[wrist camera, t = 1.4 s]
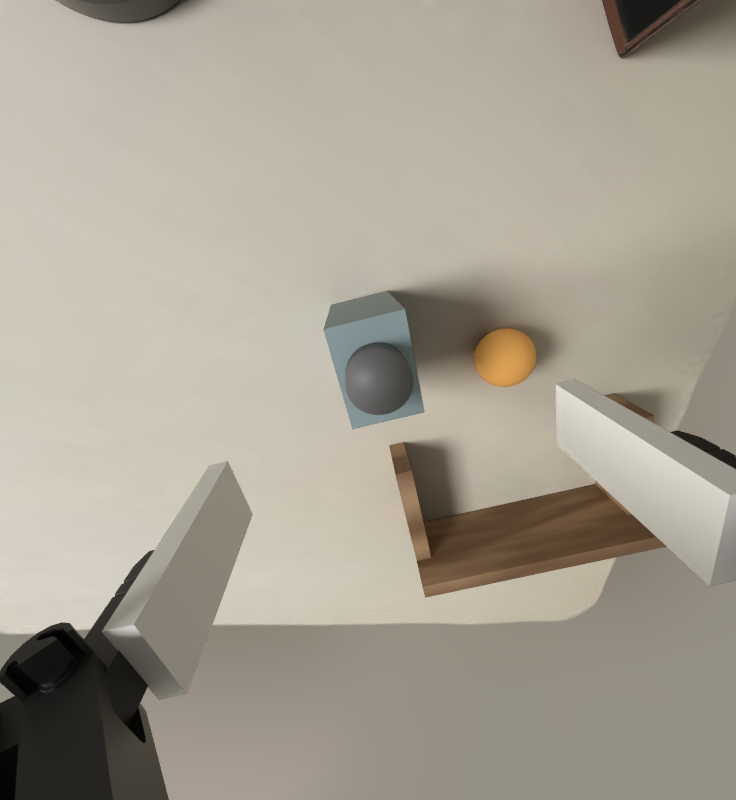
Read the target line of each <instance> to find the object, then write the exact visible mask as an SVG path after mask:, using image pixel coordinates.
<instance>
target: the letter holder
mask: <svg viewBox="0 0 736 800" xmlns="http://www.w3.org/2000/svg"><path fill="white" fill-rule="evenodd" d="M602 1H603V5H604V9H605V12H606V16H607V20H608V23H609V26H610V30H611V33H612V37H613V40H614V43H615V46H616V49H617V52H618V55H619V56H620V57H621V58H623V57H625V56H627V55H629V54H630V53H632V52H633V51H634V50H636V49H637V48H638V47H639V46H641V45H642V44H643V43H644V42H646V41H647V40H649V39H650V38H651V37H652V36H654V35H655V34H656V33H658V32H659V31H660V30H662V29H663V28H665V27H666V26H667V25H669V24H670V23H671V22H673V21H674V20H675V19H677V18H678V17H679V16H681V15H682V14H683V13H685V12H686V11H687V10H689V9H690V8H692V7H693V6H694V5H696V4H697V3H699V2H700V1H701V0H602Z"/></svg>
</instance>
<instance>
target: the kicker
mask: <svg viewBox="0 0 736 800" xmlns="http://www.w3.org/2000/svg"><path fill="white" fill-rule="evenodd" d="M324 332H325V336H326V339H327V343H328V346H329V349H330V353H331V356H332V360H333V363H334V367H335V370H336V374H337V377H338V381H339V384H340V387H341V391H342V394H343V398H344V401H345V405H346V408H347V412H348V415H349V419H350V422H351V426H352V429H356V428H360V427H364V426H368V425H373V424H377V423H381V422H385V421H390V420H394V419H398V418H402V417H407V416H411V415H415V414H419V413H423V412H424V407H423V401H422V396H421V391H420V385H419V380H418V375H417V370H416V364H415V359H414V354H413V349H412V343H411V338H410V333H409V327H408V322H407V317H406V312H405V309H404V308H403V306H402V305H401V304H400V303H399V302H398V301H397V300H396V299H395V298H394V297H393V296H392V295H391V294H390V293H389V292H388V291H385V292H381V293H377V294H373V295H369V296H365V297H361V298H357V299H353V300H349V301H345V302H341V303H337V304H333V305H331V307H330V310H329V314H328V317H327V320H326V323H325V327H324Z"/></svg>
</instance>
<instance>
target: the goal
mask: <svg viewBox="0 0 736 800" xmlns="http://www.w3.org/2000/svg"><path fill="white" fill-rule="evenodd" d="M606 397H608V398H610V399H611V400H613V401H615V402H617V403H618V404H620V405H622V406H624V407H626V408H627V409H629V410H631V411H633V412H634V413H636V414H638V415H640V416H642V417H643V418H645V419H647V420H649V421H651V422H652V423H653V418H654V415H652V414H650V413H648V412H646V411H644V410H643V409H641V408H639V407H637V406H635V405H633V404H632V403H630V402H628V401H626V400H624V399H622V398H621V397H619V396H617V395H615V394H610V395H606ZM390 451H391V455H392V460H393V465H394V469H395V474H396V478H397V482H398V486H399V490H400V494H401V499H402V503H403V507H404V511H405V515H406V519H407V523H408V527H409V531H410V535H411V539H412V543H413V547H414V551H415V555H416V559H417V564H418V568H419V573H420V577H421V582H422V586H423V590H424V594H425V597H430V596H435V595H439V594H444V593H449V592H454V591H458V590H463V589H468V588H473V587H477V586H482V585H487V584H491V583H496V582H501V581H506V580H510V579H515V578H520V577H525V576H529V575H534V574H539V573H544V572H548V571H553V570H558V569H562V568H567V567H572V566H577V565H581V564H586V563H591V562H596V561H600V560H605V559H610V558H615V557H619V556H624V555H629V554H633V553H638V552H643V551H648V550H652V549H657V548H662V547H667V546H666V545H665V544H664V543H663V542H661V541H660V540H659V539H658V538H657V537H656V536H655V535H654V534H653V533H652V532H651V531H650V530H649V529H647V528H646V527H645V526H644V525H643V524H642V523H641V522H640V521H639V520H638V519H637V518H636V517H634V516H633V515H632V514H631V513H630V512H629V511H628V510H627V509H626V508H625V507H624V506H623V505H621V504H620V503H619V502H618V501H617V500H616V499H615V498H614V497H613V496H612V495H611V494H610V493H609V492H607V491H606V490H605V489H604V488H603V487H602V486H601V485H600V484H599V483H598V482H597V481H596V484H595V485H590V486H585V487H581V488H576V489H572V490H567V491H563V492H558V493H554V494H549V495H545V496H540V497H536V498H531V499H527V500H522V501H518V502H513V503H509V504H504V505H499V506H495V507H490V508H486V509H481V510H477V511H472V512H468V513H463V514H459V515H454V516H450V517H445V518H441V519H436V520H432V521H427V522H423V518H422V514H421V509H420V505H419V500H418V496H417V491H416V487H415V482H414V478H413V474H412V469H411V466H410V462H409V459H408V456H407V452H406V449H405V445H404V442H403V443H399V444H395V445H390Z"/></svg>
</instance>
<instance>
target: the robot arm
mask: <svg viewBox="0 0 736 800" xmlns="http://www.w3.org/2000/svg"><path fill="white" fill-rule="evenodd" d="M56 1H58V2H59V3H61V4H62V5H64V6H66V7H68V8H70V9H72V10H74V11H76V12H79V13H81V14H83V15H86V16H89V17H92V18H96V19H100V20H104V21H111V22H134V21H140V20H145V19H148V18H151V17H154V16H156V15H159V14H161V13H163V12H164V11H166V10H168V9H169V8H171V7H172V6H173V5H175V4H176V3H177V2H179V1H180V0H56ZM556 428H557V445H558V446H559V447H560V448H561V449H562V450H563V451H564V452H565V453H566V454H567V455H568V456H570V457H571V458H572V459H573V460H574V461H575V462H576V463H577V464H578V465H579V466H580V467H581V468H583V469H584V470H585V471H586V472H587V473H588V474H589V475H590V476H591V477H592V478H593V479H594V480H596V481H597V482H598V483H599V484H600V485H601V486H602V487H603V488H604V489H605V490H606V491H607V492H609V493H610V494H611V495H612V496H613V497H614V498H615V499H616V500H617V501H618V502H619V503H620V504H621V505H623V506H624V507H625V508H626V509H627V510H628V511H629V512H630V513H631V514H632V515H633V516H634V517H636V518H637V519H638V520H639V521H640V522H641V523H642V524H643V525H644V526H645V527H646V528H647V529H649V530H650V531H651V532H652V533H653V534H654V535H655V536H656V537H657V538H658V539H659V540H660V541H661V542H663V543H664V544H665V545H666V546H667V547H668V548H669V549H670V550H671V551H672V552H674V553H675V554H676V555H677V556H678V557H679V558H680V559H681V560H682V561H683V562H684V563H685V564H686V565H688V566H689V567H690V568H691V569H692V570H693V571H694V572H695V573H696V574H697V575H698V576H699V577H700V578H702V579H703V580H704V581H705V582H706V583H707V584H708V585H709V586H713V585H718V584H723V583H727V582H733V581H736V457H735V455H733V454H731V453H730V452H728V451H726V450H724V449H722V450H721V449H720V448H719V447H718V446H716V445H714V444H713V443H711V442H709V441H707V440H705V439H703V438H701V437H698V436H695V435H691V434H688V433H685V432H681V431H673V432H668V431H667V430H665V429H663V428H661V427H659V426H658V425H656V424H654V423H652V422H651V421H649V420H647V419H645V418H643V417H642V416H640V415H638V414H636V413H634V412H633V411H631V410H629V409H627V408H626V407H624V406H622V405H620V404H618V403H617V402H615V401H613V400H611V399H610V398H608V397H606V396H604V395H602V394H601V393H599V392H597V391H595V390H594V389H592V388H590V387H588V386H586V385H585V384H583V383H581V382H579V381H577V380H576V379H575V380H571V381H566V382H562V383H558V384H556ZM251 517H252V512H251V510H250V507H249V505H248V503H247V501H246V499H245V497H244V495H243V493H242V491H241V488H240V486H239V484H238V482H237V480H236V478H235V476H234V474H233V471H232V469H231V467H230V465H229V463H228V461H227V462H223V463H218V464H214V465H210V466H209V467H208V469H207V470H206V472H205V473H204V475H203V476H202V478H201V479H200V481H199V482H198V484H197V486H196V487H195V489H194V490H193V492H192V493H191V495H190V496H189V498H188V499H187V501H186V502H185V504H184V506H183V507H182V509H181V510H180V512H179V513H178V515H177V516H176V518H175V519H174V521H173V523H172V524H171V526H170V527H169V529H168V530H167V532H166V533H165V535H164V536H163V538H162V539H161V541H160V543H159V544H158V546H157V547H156V549H155V550H152V551H149V552H148V553H147V554H146V555H145V556H144V557H143V558H142V559H141V560H140V561H139V562H138V563H137V564H136V565H135V566H134V567H133V568H132V570H131V571H130V573H129V574H128V576H127V577H126V579H125V580H124V584H121V586H120V587H119V589H118V590H117V592H116V593H115V597H113V598H112V599H111V601H110V602H109V604H108V605H107V606H106V608H105V609H104V611H103V612H102V614H101V615H100V617H99V618H98V620H97V621H96V623H95V624H94V626H93V627H92V628H91V630H90V631H89V633H88V634H87V636H86V637H85V639H83V638H82V637H81V636H80V635H79V633H78V632H77V631H76V630H75V629H74V628H73V626H72V625H71V624H70V623H59V624H55V625H52V626H50V627H48V628H46V629H44V630H43V631H41V632H39V633H37V634H36V635H35V636H33V637H32V638H30V639H29V640H28V641H26V642H25V643H24V644H23V645H22V646H21V647H20V648H19V649H18V650H17V651H15V652H14V653H13V654H12V655H11V656H10V658H9V659H8V660H7V662H6V663H5V665H4V666H3V667H2V668H1V671H0V683H1V684H2V685H4V686H5V687H6V688H7V689H8V690H9V691H10V692H11V693H12V694H14V695H15V696H14V697H12V698H10V699H8V700H6V701H4V702H2V703H0V800H169V799H168V795H167V792H166V788H165V783H164V779H163V776H162V772H161V768H160V764H159V760H158V756H157V752H156V748H155V744H154V741H153V737H152V733H151V729H150V725H149V721H148V717H147V713H146V711H145V709H144V708H143V706H142V705H141V704H140V702H141V700H142V698H143V695H144V693H145V691H146V689H147V687H148V688H149V689H150V690H151V691H152V692H153V694H155V696H156V697H157V698H158V700H160V699H165V698H170V697H175V696H180V695H185V694H187V693H188V690H189V687H190V684H191V682H192V679H193V676H194V674H195V671H196V668H197V665H198V663H199V660H200V657H201V654H202V652H203V649H204V646H205V643H206V641H207V638H208V635H209V632H210V630H211V627H212V624H213V621H214V619H215V616H216V613H217V611H218V608H219V605H220V602H221V600H222V597H223V594H224V591H225V589H226V586H227V583H228V580H229V578H230V575H231V572H232V569H233V567H234V564H235V561H236V558H237V556H238V553H239V550H240V547H241V545H242V542H243V539H244V536H245V534H246V531H247V528H248V525H249V523H250V520H251Z"/></svg>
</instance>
